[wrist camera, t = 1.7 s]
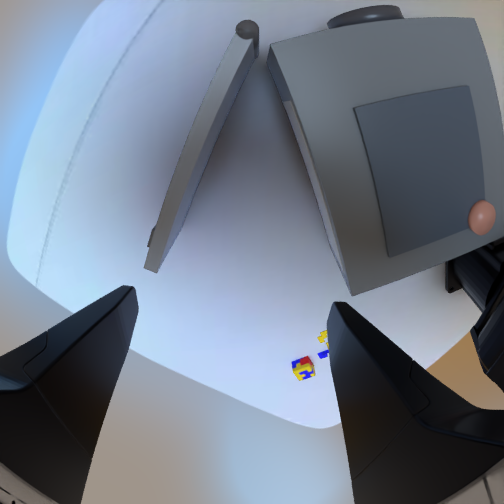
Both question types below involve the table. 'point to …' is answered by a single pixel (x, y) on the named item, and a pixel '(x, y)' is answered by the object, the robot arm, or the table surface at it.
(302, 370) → the building blocks
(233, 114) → the table surface
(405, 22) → the camera box
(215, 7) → the table surface
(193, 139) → the side door
